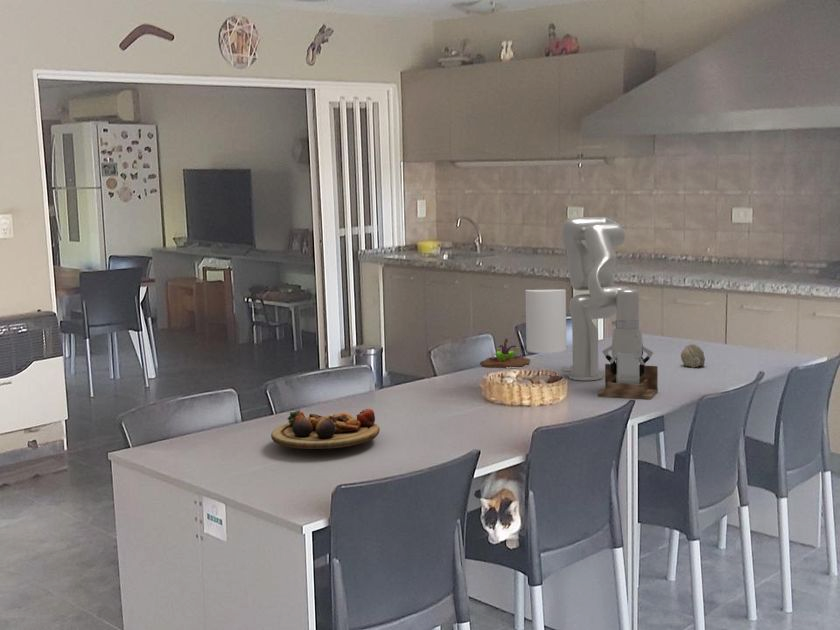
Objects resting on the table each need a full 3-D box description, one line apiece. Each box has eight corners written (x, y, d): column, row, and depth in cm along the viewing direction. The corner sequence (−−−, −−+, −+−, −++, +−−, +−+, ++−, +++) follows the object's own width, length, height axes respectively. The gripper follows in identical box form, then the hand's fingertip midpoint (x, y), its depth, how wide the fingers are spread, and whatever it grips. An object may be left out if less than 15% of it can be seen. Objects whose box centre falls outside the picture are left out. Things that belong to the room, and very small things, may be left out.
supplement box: (637, 385, 341) (637, 349, 339) (639, 389, 333) (639, 352, 332) (615, 385, 341) (615, 349, 340) (617, 389, 334) (617, 353, 332)
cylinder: (565, 357, 417) (564, 291, 414) (524, 356, 421) (523, 291, 417) (567, 350, 434) (566, 287, 431) (528, 350, 438) (527, 288, 434)
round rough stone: (707, 370, 376) (707, 345, 375) (684, 371, 376) (684, 345, 375) (700, 366, 385) (700, 341, 384) (678, 367, 386) (678, 342, 384)
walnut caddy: (597, 396, 335) (597, 370, 334) (606, 389, 347) (606, 363, 346) (650, 399, 328) (650, 372, 327) (657, 391, 340) (657, 365, 338)
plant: (536, 363, 406) (535, 336, 405) (523, 371, 388) (522, 343, 387) (490, 361, 414) (489, 335, 412) (475, 369, 396) (474, 342, 395)
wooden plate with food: (381, 422, 308) (380, 397, 307) (378, 448, 276) (377, 420, 275) (279, 426, 307) (277, 400, 306) (264, 452, 276) (262, 423, 275)
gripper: (599, 325, 335) (600, 375, 337) (651, 327, 328) (651, 378, 330) (604, 322, 341) (605, 371, 343) (655, 324, 334) (655, 374, 337)
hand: (627, 374), depth 337 cm, fingers closed on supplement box, 8 cm apart
